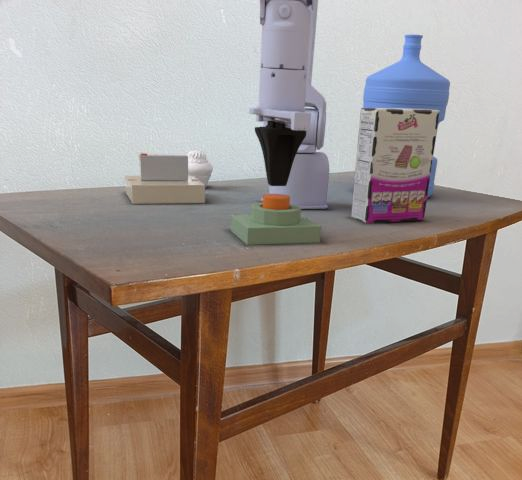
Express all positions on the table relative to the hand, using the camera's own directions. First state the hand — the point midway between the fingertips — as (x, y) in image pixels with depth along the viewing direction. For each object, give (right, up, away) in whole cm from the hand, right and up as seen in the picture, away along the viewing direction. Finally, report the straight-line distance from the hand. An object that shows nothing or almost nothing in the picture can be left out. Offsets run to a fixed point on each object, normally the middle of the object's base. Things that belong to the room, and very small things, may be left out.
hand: (277, 185), depth 77 cm
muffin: (-15, +10, +37) cm, 41 cm away
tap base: (-19, +5, +25) cm, 31 cm away
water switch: (0, -6, +3) cm, 7 cm away
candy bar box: (+18, -1, +17) cm, 25 cm away
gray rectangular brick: (-19, +7, +23) cm, 31 cm away
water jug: (+24, +10, +41) cm, 49 cm away
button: (0, -3, +1) cm, 3 cm away
